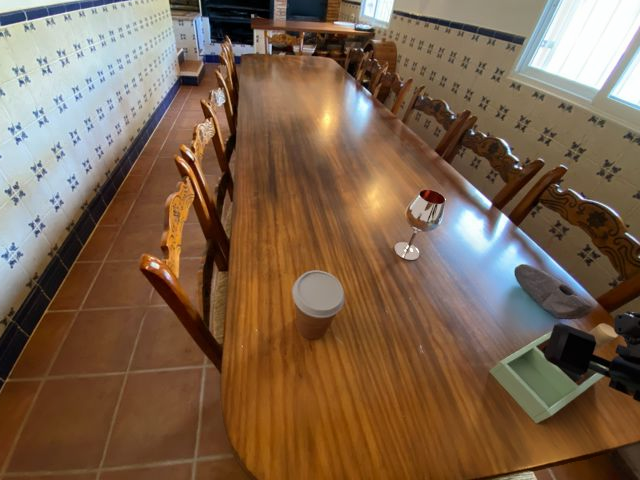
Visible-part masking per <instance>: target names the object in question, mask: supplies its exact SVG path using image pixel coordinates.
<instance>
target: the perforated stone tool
mask: <svg viewBox="0 0 640 480" xmlns="http://www.w3.org/2000/svg"><path fill="white" fill-rule="evenodd" d="M514 277H515V279H516V282H517V283H518V285H519V286H520V287H521V288H522V290H524V291H525V292H526V293H527V294H528V296H529V297H530V298H531V299H533V301H535V303H537V304H538V306H540V308H542V309H543V310H545V311H547V312H549V313H550V314H551V315H552V316H553V317H554V318H555V319H556V320H579V319H583V318H584V317H588V316H589V314H590V313H592V312H593V311H594V308H593V307H592V305H591V304H590V303H588V301H586V300H585V299H584V298H583V297H582V296H581V295H579V294H578V292H576V291H575V290H573V289H572V288H571V287H570V286H568V285H567V284H566V283H564V282H562V281H561V280H559V279H558V278H557V277H554V276H553V275H551V274H549V273H548V272H546V271H545V270H542V269H541V268H538V267H537V266H534V265H530V264H527V263H525V264H524V263H521V264H519V265H517V266H515V268H514Z"/></svg>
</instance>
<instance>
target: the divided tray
mask: <svg viewBox="0 0 640 480" xmlns="http://www.w3.org/2000/svg"><path fill="white" fill-rule="evenodd" d="M551 333H552V330H551V331H549V332H547V333H546V334H544V335H542V336H541V337H539V338H537V339H535V340H534V341H532V342H530V343H529V344H527V345H525V346H523V347H522V348H520V349H519V350H517V351H515V352H513V353H512V354H510V355H509V356H507V357H505V358H503V359H502V360H500V361H499V362H498V363H496V364H495V365H494V366H493V367H492V368H491V369H489V371H488V372H489V373H490V374H491V375H492V377H494V379H495V380H496V381H497V382H498V383H499V384H500V385H501V386H502V387H503V388H504V390H505V391H506V392H507V393H508V394H509V395H510V397H512V398H513V400H514V401H515V402H516V403H517V404H518V405H519V406H520V407H521V409H522V410H523V411H524V412H525V413H526V414H527V415H528V417H530V419H531V420H532V421H533V422H534V423H535V424H539V423H541V422H543V421H545V420H547V419H548V418H550V417H552V416H553V415H555V414H556V413H558V412H559V411H560V410H561V409H563V408H564V407H566V406H567V405H568V404H569V403H571V402H572V401H573V400H575V399H576V398H577V397H578V396H580V395H581V394H583V393H584V392H585V391H587V389H589V388H590V387H592V386H593V385H594V384H596V383H597V382H598V381H599V380H602V378H604V377H605V376H604V375H601V374H599V373H596V372H594V371H592V370H589V369H588V370H587V372H586V373H584V374H583V378H582V379H580V380H579V381H577V382H574V381H572V380H571V379H570V378H569V377H568V376H567V375H566V374H565V373H564V372H563V371H562V370H561V369H560V368H558V367H557V366H556V365H554V364H552V363H550V362H548V361H547V360H546V359H545V357H544V351H543V348H544V347H545V346H546V345H548V342H549V339H550V336H551ZM590 363H591V364H592V363H593V364H594V365H598V366H600V367H601V368H602V367H603V368H604V369H607V370H609V368H607V367H604V366H602V365H600V364H597V363H595V362H592V361H590Z"/></svg>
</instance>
